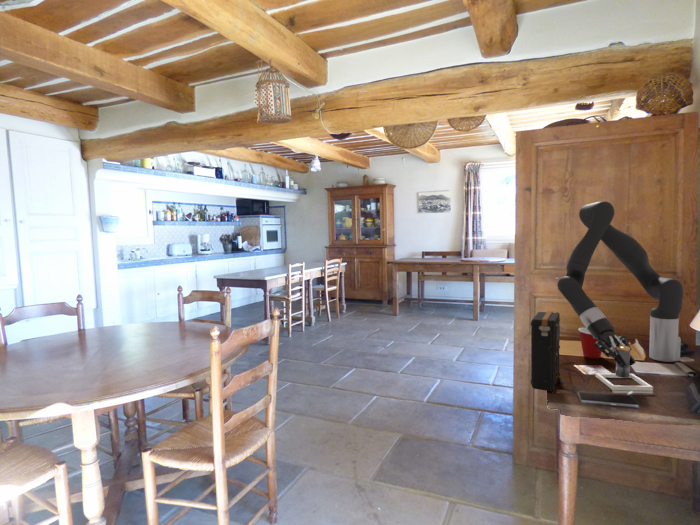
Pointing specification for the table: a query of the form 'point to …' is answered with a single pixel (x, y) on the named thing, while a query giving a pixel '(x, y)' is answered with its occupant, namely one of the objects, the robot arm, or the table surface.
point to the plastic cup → (589, 344)
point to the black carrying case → (545, 350)
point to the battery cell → (625, 354)
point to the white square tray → (624, 387)
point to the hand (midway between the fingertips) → (628, 364)
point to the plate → (591, 369)
